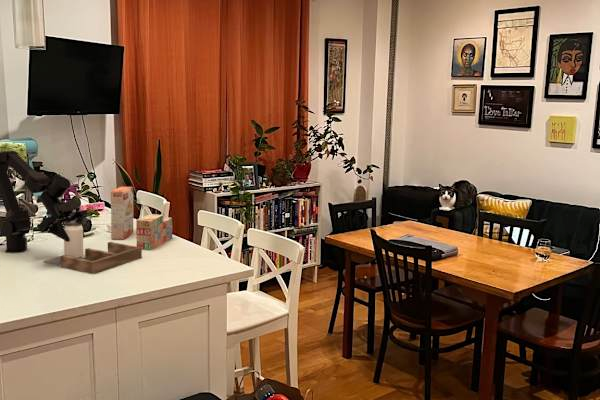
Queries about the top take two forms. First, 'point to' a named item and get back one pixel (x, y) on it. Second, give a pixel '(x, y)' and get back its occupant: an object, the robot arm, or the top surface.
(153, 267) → the top surface
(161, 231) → the stack of blocks
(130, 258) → the shelf lanes
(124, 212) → the cracker box
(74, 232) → the can
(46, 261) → the mat
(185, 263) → the top surface
